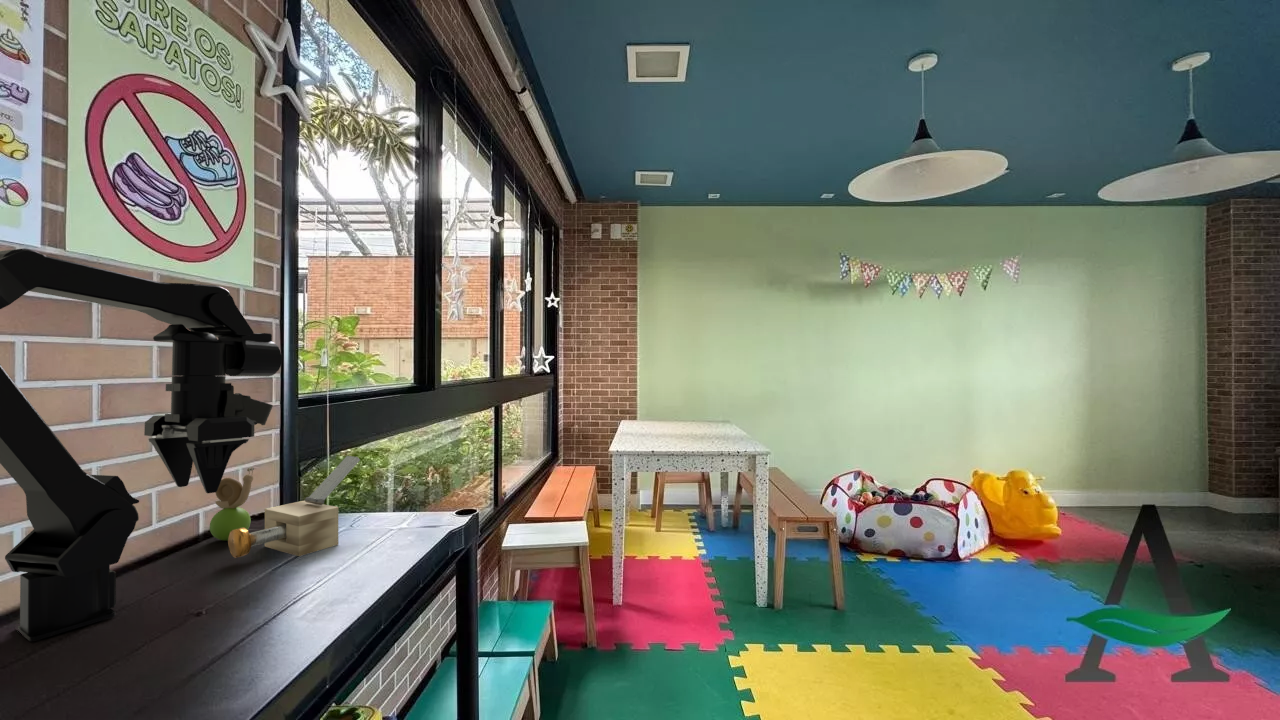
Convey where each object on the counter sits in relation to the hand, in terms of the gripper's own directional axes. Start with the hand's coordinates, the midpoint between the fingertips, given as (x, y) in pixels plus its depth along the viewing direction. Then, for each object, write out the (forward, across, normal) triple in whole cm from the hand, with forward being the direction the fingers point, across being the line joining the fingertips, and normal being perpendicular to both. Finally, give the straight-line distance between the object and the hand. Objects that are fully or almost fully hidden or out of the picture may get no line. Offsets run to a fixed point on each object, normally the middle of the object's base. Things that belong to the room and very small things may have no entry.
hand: (196, 489), depth 72 cm
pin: (+11, +1, -11) cm, 16 cm away
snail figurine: (+12, +14, -10) cm, 21 cm away
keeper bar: (+2, +1, -19) cm, 19 cm away
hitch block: (+12, +1, -14) cm, 18 cm away
